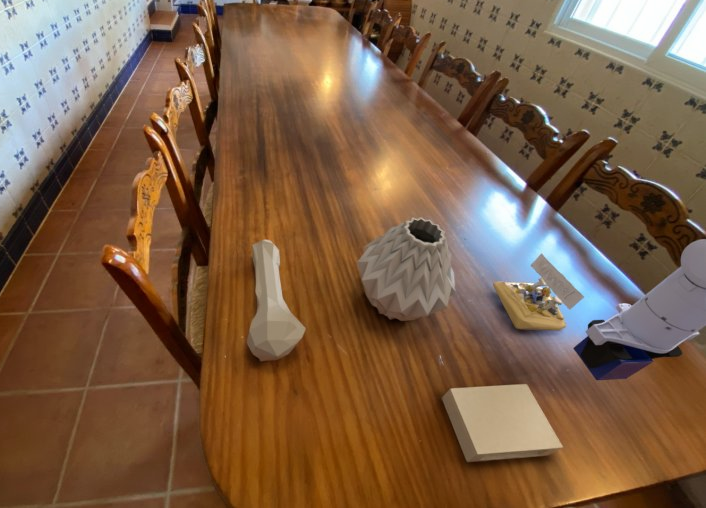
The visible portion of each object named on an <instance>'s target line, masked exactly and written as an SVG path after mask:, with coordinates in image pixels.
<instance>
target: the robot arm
mask: <svg viewBox="0 0 706 508" xmlns="http://www.w3.org/2000/svg"><path fill="white" fill-rule="evenodd" d="M615 309H616V310H617V311H618V312H619V313H617V314H615V315H613V316H611V317H610V318H609V319H607V320H605V319H593V320H591V321H590V322H589V323H588V324H587V330H585V333H586V335H587V336H588V339H587V342H586V344H585V346H584V348H583V350H582V352H581V354H580V357H581V358H582V359H583V361H584V362H585V363H586V365H587V366H588V367H589V368H596V367H600V366H602V365H604V364H607V363H609V362H611V361H615V360H619V359H621V360H622V359H633V358H632V357H631V356H630V355H629V353H628V352H627V351H626V350H625V349H624V347H623V346H625V345H628V346H632V347H636V348H639V349H643V350H644V351H645V352H646V353H647V354H648V355H649V357H650V358H651V359H652V360H655V359H660V358H679V357H681V356H682V355H683V351H682V349H681V347H679V346H680V345H681V344H682V343H684V342H689V341H691V340H692V339H694V338H696V337H697V336H699V335H700V334H701V333H700V332H699V331H700V330H702V329H703V328H704V327H706V238H702V239H697V240H695V241H693V242H691V243H689V244H688V245H687V246H686V247H684V249H683V251H682V253H681V256H680V266H679V267H678V268H677V269H676V270H675V271H673V272H672V273H671V274H669V275H668V276H667V277H666V278H664V279H663V280H662V281H660V283H658V284H657V285H656V286H655V287H653V288H651V290H650V291H648V292H647V293H646V294H645V295H643V296H642V297H641V298H640V299H638V301H636V302H635V303H634V304H633V305H631V304H630V303H618V304H617V305H616V306H615ZM580 357H579V358H580ZM583 361H582V362H583ZM586 365H585V366H586Z"/></svg>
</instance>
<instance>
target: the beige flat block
mask: <svg viewBox="0 0 706 508" xmlns="http://www.w3.org/2000/svg"><path fill="white" fill-rule="evenodd" d="M441 401H442V403H443V406H444V409H445V411H446V413H447V415H448V419H449V420H450V423H451V425H452V428H453V430H454V433H455V436H456V438H457V440H458V443H459V447H460V448H461V451H462V453H463V456H464V459H465V461H466V462H467V463H475V462H486V461H498V460H510V459H512V460H513V459H522V458H536V457H547V456H550V455H553V454H554V453H556V452H558V451H560V450H561V449H564V446H563V444H562V443H561V441H560V439H559V437H558V436H557V434H556V432H555V430H554V429H553V427H552V425H551V424H550V422H549V419H547V416H546V415H545V413H544V412H543V410H542V408H541V406H540V404H539V403H538V401H537V400H536V398H535V396H534V394H533V392H532V391H531V389H530V387H529V385H528V384H527V383H519V384H504V385H487V386H470V387H469V386H467V387H453V388H452V387H451V388H449V389H448V391H447V392H445V394H444V395H442V397H441Z"/></svg>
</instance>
